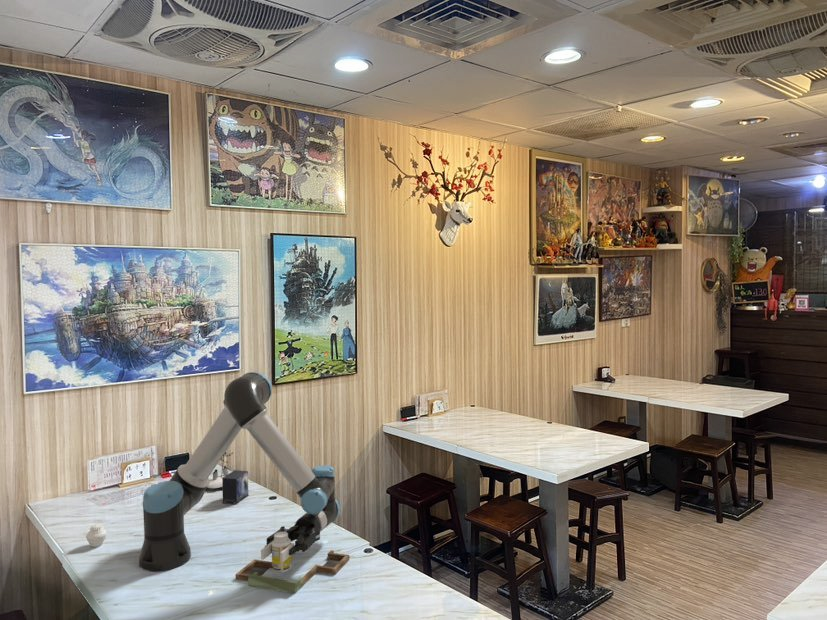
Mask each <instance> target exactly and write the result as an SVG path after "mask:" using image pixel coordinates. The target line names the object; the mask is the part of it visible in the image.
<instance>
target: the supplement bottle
mask: <svg viewBox="0 0 827 620" xmlns="http://www.w3.org/2000/svg"><path fill="white" fill-rule="evenodd" d="M276 532H277V531H276ZM274 533H275V532H274ZM274 533H273V534H274ZM291 543H292V542H291V540H290V539H289V538H288V533H287V532H277V533H275V534H274V540H273V541H272V553H271V562H272V567H273V569H272V570H273V571H274V572H276V573H284V572H287V571H290V570H291V569H292V568H293V560H292V558H293V557H292V556H293V555H291V556H290V557H289V558H288V559H286V560H285V561H284V562H281V556H280V553H281V552H282V551H283V550H284V549H285V548H287V547H288V546H289V545H290V544H291Z"/></svg>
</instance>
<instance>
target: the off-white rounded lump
mask: <svg viewBox="0 0 827 620" xmlns="http://www.w3.org/2000/svg"><path fill="white" fill-rule="evenodd" d="M107 534H108V533H107V531H106V530H105V529H104V528H103V526H102V525H101V524H95V525H92V526H91V527H90V528H89V531H88V532H87V534H86V535H85V538H86V541H87V542H88V544H89V545H90V546H91V548H98V547H101V546H102V545H103V544H104V541H105V539H106V537H107Z"/></svg>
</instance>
